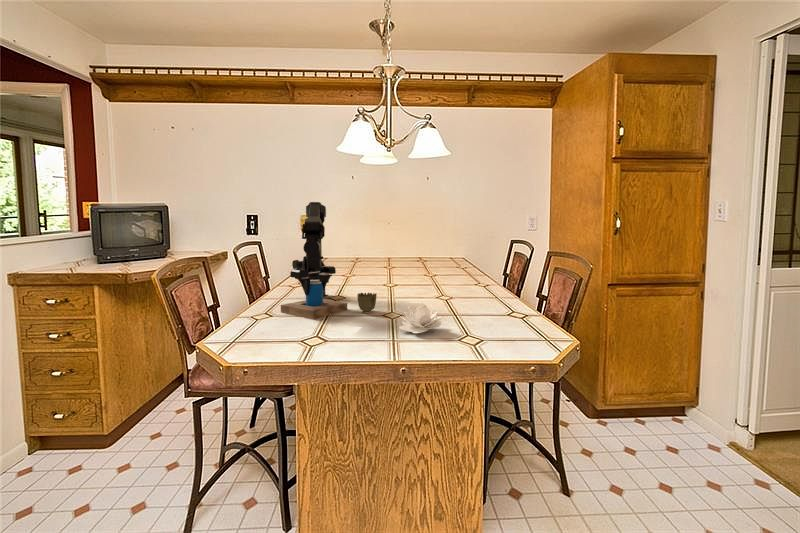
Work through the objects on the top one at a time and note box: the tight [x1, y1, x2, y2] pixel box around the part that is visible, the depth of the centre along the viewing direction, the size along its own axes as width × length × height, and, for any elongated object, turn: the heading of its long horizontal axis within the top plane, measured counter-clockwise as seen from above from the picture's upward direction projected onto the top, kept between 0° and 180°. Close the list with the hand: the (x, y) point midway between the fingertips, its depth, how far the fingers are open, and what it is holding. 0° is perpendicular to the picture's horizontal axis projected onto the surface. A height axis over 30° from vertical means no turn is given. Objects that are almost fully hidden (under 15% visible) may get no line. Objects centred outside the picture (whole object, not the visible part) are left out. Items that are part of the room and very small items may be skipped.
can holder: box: [280, 299, 348, 321], centre depth 172 cm, size 18×18×4 cm
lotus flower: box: [398, 302, 443, 334], centre depth 146 cm, size 14×15×9 cm
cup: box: [356, 292, 377, 314], centre depth 169 cm, size 8×7×8 cm
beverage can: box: [305, 280, 324, 307], centre depth 171 cm, size 6×6×12 cm
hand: (314, 293), depth 171 cm, fingers open, 7 cm apart
